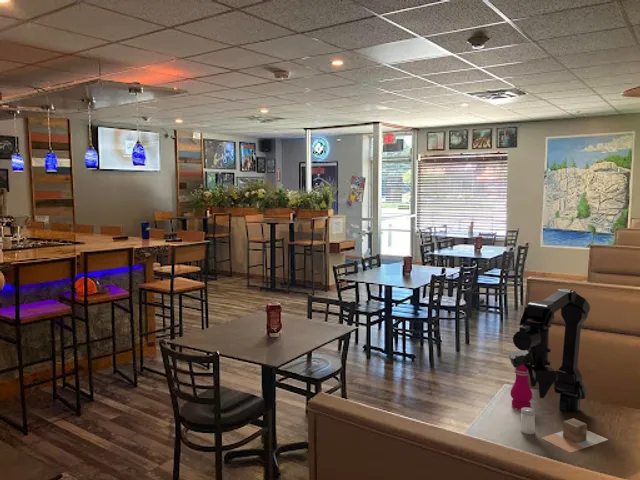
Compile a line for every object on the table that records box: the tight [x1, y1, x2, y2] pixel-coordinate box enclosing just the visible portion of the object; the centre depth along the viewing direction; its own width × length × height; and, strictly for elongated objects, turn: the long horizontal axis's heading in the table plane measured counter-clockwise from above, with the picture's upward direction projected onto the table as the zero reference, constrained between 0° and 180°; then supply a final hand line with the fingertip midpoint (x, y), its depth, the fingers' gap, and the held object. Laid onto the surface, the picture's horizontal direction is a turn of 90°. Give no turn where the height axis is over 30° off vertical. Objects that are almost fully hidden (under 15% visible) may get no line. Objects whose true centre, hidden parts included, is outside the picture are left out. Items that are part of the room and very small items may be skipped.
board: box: [541, 429, 609, 454], centre depth 150 cm, size 17×10×1 cm, turn 117°
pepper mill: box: [510, 365, 533, 411], centre depth 176 cm, size 7×7×20 cm
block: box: [562, 417, 588, 444], centre depth 150 cm, size 4×4×5 cm
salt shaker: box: [520, 407, 536, 435], centre depth 155 cm, size 4×4×8 cm
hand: (537, 392), depth 156 cm, fingers open, 9 cm apart
